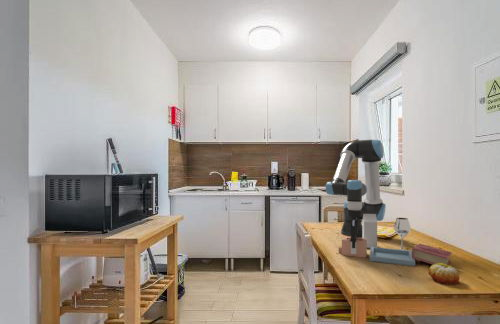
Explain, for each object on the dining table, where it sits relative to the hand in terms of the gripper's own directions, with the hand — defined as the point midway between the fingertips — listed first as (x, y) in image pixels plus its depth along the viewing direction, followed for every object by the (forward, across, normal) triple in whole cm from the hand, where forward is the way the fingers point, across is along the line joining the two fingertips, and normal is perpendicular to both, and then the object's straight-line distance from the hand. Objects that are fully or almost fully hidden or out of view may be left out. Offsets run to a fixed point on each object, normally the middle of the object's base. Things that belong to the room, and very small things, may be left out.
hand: (354, 251), depth 170 cm
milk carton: (+1, -20, +7) cm, 21 cm away
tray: (+1, 0, +18) cm, 18 cm away
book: (0, 0, +35) cm, 35 cm away
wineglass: (+1, -17, +24) cm, 29 cm away
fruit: (+2, +26, +37) cm, 45 cm away
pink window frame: (+1, 0, 0) cm, 1 cm away
